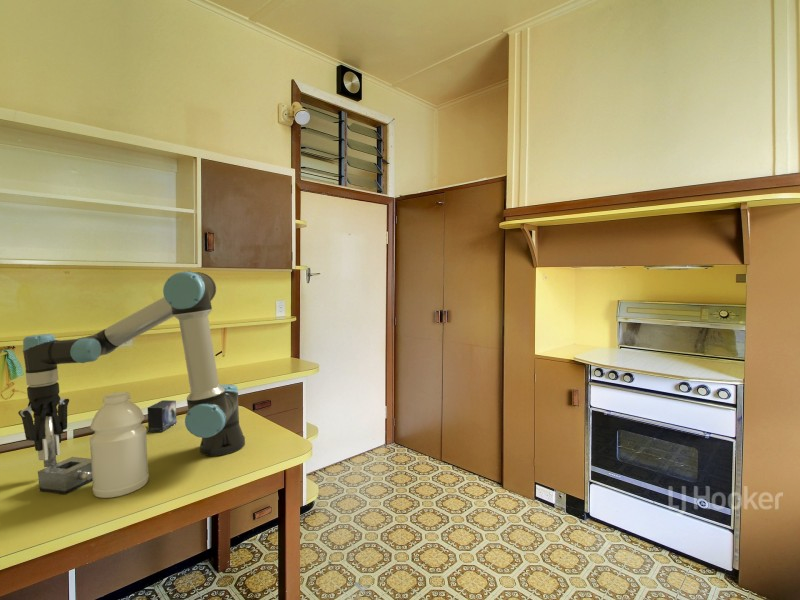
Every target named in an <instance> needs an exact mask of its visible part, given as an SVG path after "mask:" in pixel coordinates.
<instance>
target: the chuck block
mask: <svg viewBox="0 0 800 600" xmlns="http://www.w3.org/2000/svg"><path fill="white" fill-rule="evenodd" d="M37 476H38V479H37V480H38V491H39V492H42V493H43V492H44V493H51V494H58V495H68V494H69V493H72V492H74V491H76V490H77V489H80V488H81V487H84V486H85V485H88V484H89V483H91V482H93V480H92V465H91V458H87V457H81V456H80V457H79V456H71V457H68V458H66V459H64V460H61V461H60V462H59V461H58V462H57V464H54V465H52V466H49V467H44V468H42V469H40V470H38V471H37Z"/></svg>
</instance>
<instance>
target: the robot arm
mask: <svg viewBox="0 0 800 600" xmlns="http://www.w3.org/2000/svg"><path fill="white" fill-rule="evenodd" d="M162 292H163V297H161V298H160V299H159V298H158V300H155V301H154V302H152V303H150V304H148V305H147V306H144V307H142V308H141V309H139V310H137V311H136V312H133V313H132V314H130V315H128V316H126V317H124V318H122V319H121V320H119V321H117V322H115V323H113V324H112V325H109V326H107V327H106V328H104V329H102V330H100V331H98V332H97V333H94V334H91V335H87V336H84V337H83V336H82V337H77V338H73V339H71V338H70V339H61V340H60V339H56V337H55V335H54V334H52V333H50V334H49V333H45V334H44V333H43V334H42V333H41V334H36V335H35V334H33V335H28V336H26V337H24V338H23V341H22V345H23V347H22V353H23V360H24V367H25V380H26V385H27V386H28V387H27V388H26V392H27V399H28V404H27V407H26V408H24V409H23V410H22V409H21V410H19V411H18V413H17V414H18V415H19V416H20V418H21V421H22V425H23V430H24V436H25V439H26V441H31V442H33V443H34V450H35V451H36V452H37V456H38V460H39V461H44V460H48V454H47V443H46V439H43V433H44V419H45V417H46V413H48V412H56V415H55V416H52V418H53V429H54V440H55V451H56V456H59V455H61V447H60V444H61V443H62V434H64V430H67V429H68V406H69V403H70V399H69V398H61V396H60V395H59V394H60V392H61V391H60V383H59V382H58V381H59V371H58V365H61V364H65V365H66V364H80V363H81V364H85V363H90V362H91V363H92V362H95V361H97V360H98V358H99V357H100V356H105V355H108V354H111V353H112V352H114V351H115V350H116V349H118V348H119V347H120V346H122V345H124V344H126V343H128V342H130V341H131V340H133V339H135V338H137V337H139V336H141V335H143V334H144V333H147V332H148V331H150V330H152V329H154V328H155V327H157V326H159V325H161V324H163V323H164V322H166V321H168V320H170V319H172V318H175V319H178V323H179V328H180V336H181V340H182V341H181V342H182V347H183V353H184V358H185V365H186V371H187V376H188V383H189V384H188V385H189V388H190V392H189V394H188V395H187V396H186V402H187V413H186V414H185V418H184V423H185V428H186V430H187V431H188V432H189V433H190V435H193V436H195V437H196V438H201V441H200V445H199V447H200V448H199V451H200V454H202V455H204V456H210V457H215V456H224V455H229V454H232V453H234V452H237V451H240V450H242V449H243V447H245V445H246V440H245V439H246V438H245V435H244V433H243V431H242V428H241V425H240V416H239V415H240V412H239V389H238V386H237V385H235V384H219V381H220V380H219V376H218V371H217V370H218V369H217V364H216V363H217V362H216V358H215V352H214V345H213V339H212V333H211V327H210V319H209V315H210V313H211V312H212V311H213V306H212V301H213V299H214V298H215V296H216V293H217V285H216V282H215V281H214V279H213V278H212V277H211V276H210V275H208V274H207V273H204V272H199V271H190V270H188V271H187V270H186V271H179V272H176V273H174V274H172V275H171V276H169V278H168V279H167V280H166V281H165V283H164V285H163V289H162Z"/></svg>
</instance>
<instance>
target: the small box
mask: <svg viewBox="0 0 800 600" xmlns="http://www.w3.org/2000/svg"><path fill="white" fill-rule="evenodd" d="M176 423H178V422H177V401H176V400H167V399H166V400H160V401H159V402H157V403H154V404H152V405H150V406H148V407H147V430H148V431H147V432H148V433H163V432H165V431H167V430H168V429H170V428H171V426H172V427H173V426H175V425H176ZM174 424H175V425H174ZM166 429H167V430H166Z"/></svg>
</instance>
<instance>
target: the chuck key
mask: <svg viewBox="0 0 800 600" xmlns="http://www.w3.org/2000/svg"><path fill="white" fill-rule="evenodd" d="M55 415H56V412H48V413H46V417H45V419H44V433H43V439H46V443H47V454H48V460H43V467H44V468H47V467H49V466H52V465H54V464H57V463H58V462H57V455H56V451H55V440H54V429H53V418H52V416H55Z"/></svg>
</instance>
